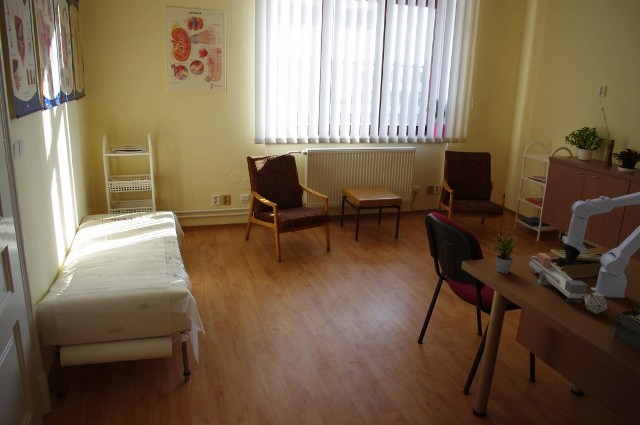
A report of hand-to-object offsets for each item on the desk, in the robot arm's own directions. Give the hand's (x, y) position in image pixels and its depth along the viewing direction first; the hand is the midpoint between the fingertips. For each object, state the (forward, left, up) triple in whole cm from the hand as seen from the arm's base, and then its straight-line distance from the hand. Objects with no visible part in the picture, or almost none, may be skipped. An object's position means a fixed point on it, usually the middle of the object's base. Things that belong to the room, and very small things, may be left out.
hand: (569, 264), depth 196 cm
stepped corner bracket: (+4, -1, -10) cm, 11 cm away
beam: (+4, -1, -8) cm, 9 cm away
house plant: (+19, -18, -11) cm, 28 cm away
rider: (+4, -13, -6) cm, 15 cm away
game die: (+1, +21, -11) cm, 24 cm away
